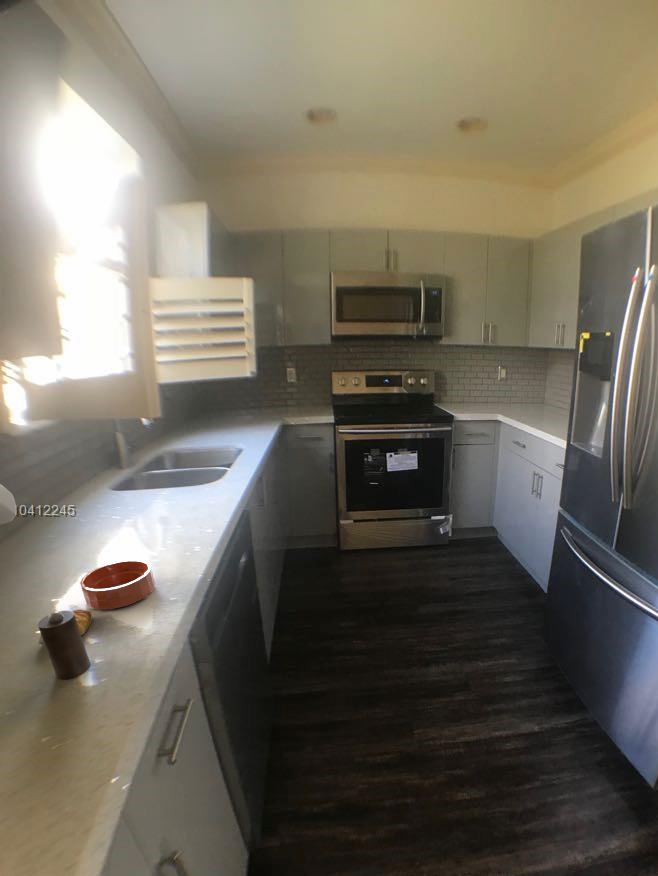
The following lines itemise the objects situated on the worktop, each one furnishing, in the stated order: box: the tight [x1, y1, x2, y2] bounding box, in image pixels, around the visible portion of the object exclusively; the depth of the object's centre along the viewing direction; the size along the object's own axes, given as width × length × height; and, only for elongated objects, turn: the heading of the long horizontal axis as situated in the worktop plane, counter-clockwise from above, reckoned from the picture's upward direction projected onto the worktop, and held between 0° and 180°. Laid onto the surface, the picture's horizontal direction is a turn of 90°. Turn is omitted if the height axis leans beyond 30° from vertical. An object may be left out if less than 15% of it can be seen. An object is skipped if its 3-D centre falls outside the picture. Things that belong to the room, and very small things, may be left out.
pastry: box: [37, 609, 93, 648], centre depth 85 cm, size 9×7×4 cm
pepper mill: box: [37, 610, 91, 680], centre depth 74 cm, size 5×5×11 cm
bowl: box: [79, 559, 156, 610], centre depth 97 cm, size 13×13×5 cm
